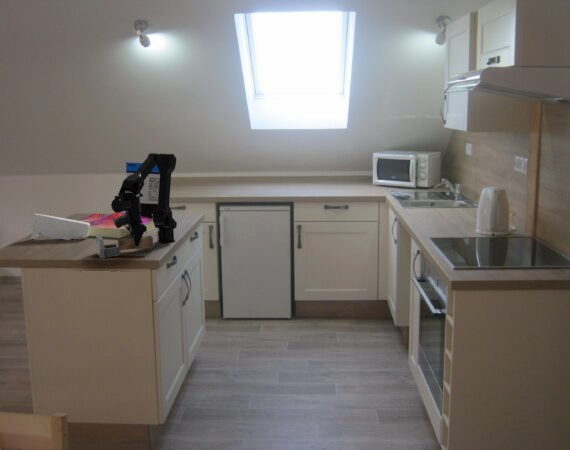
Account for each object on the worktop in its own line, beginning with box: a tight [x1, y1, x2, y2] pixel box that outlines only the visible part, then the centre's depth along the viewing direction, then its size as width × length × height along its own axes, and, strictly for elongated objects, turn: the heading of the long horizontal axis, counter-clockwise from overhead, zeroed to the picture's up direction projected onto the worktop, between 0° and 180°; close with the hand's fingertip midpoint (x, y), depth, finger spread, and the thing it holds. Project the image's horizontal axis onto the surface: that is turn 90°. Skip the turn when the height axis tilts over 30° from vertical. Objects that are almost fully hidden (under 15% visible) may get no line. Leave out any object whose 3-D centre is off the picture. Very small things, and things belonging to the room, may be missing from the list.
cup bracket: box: [94, 234, 121, 260], centre depth 261 cm, size 8×10×8 cm
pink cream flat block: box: [76, 211, 156, 239], centre depth 305 cm, size 38×25×10 cm
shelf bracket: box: [30, 213, 90, 241], centre depth 289 cm, size 6×25×13 cm, turn 92°
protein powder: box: [125, 161, 160, 219], centre depth 329 cm, size 10×24×30 cm, turn 67°
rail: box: [117, 235, 154, 251], centre depth 266 cm, size 14×4×4 cm, turn 112°
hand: (135, 244), depth 266 cm, fingers closed on rail, 4 cm apart
